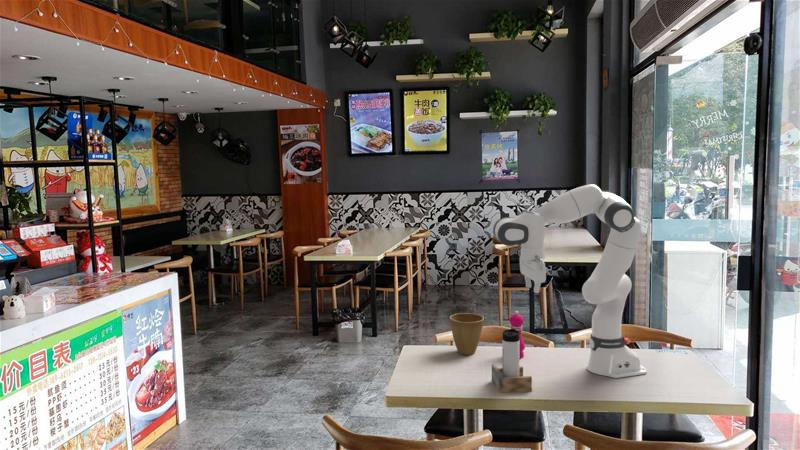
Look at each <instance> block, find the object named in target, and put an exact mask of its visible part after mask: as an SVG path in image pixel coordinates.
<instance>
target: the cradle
mask: <svg viewBox="0 0 800 450" xmlns="http://www.w3.org/2000/svg"><path fill="white" fill-rule="evenodd" d="M532 377H533V376H531V375H526V376H524V367H523V366H519V377H503V374H502V367H497V365H496V364H495V363H493V364H491V382H492V384H493V385H494V387H495V388H496V390H497V391H498V392H499V394H503V393H520V392H522V393H523V392H532V391H533V388H532V387H533V385H532V384H533V383H532V382H533V381H532V379H533V378H532Z"/></svg>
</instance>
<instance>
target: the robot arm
mask: <svg viewBox="0 0 800 450" xmlns="http://www.w3.org/2000/svg"><path fill="white" fill-rule="evenodd" d="M592 214H594V215H595V216H597V218H598V219H599V220H600V221H601V222H602V223H604V224H606V225H607V226H608V227H609V228H610V231H609V232H610V233H609V234H608V238H607V240H606V243H605V246H604V250H603V252H602V256H601V257H600V260H599V261H598V263H597V265H596V267H595V268H594V270H593V272H592V273H591V275H590V277H588V279H587V280H586V281H585V282H584V283H583V284H582V286H581V287H582V288H581V293H582V297H583V298H584V299H585V301H586V302H588V303H589V304H590V305H591V304H592V305H596V307H595V310H594V312H593V313H592V315H591V333H590V340H589V341H590V342H589V345H590V347H589V348H590V352H589V353H590V354H589V359H588V362H587V366H586V369H587V370H588V371H589V372H590V373H592V374H596V375H598V376H599V375H600V376H605V377H609V378H613V379H619V378H627V377H634V376H638V375H639V376H640V375H646V374H647V368H646V367H645V366H643V365H642V364H641V359H640V357H639V355H638V354H637V353H636V352H635V351H634V350H632V349H631V348H630V347H628V346H627V345H629V344H630V343H631V339H630V338H628V337H625V336H623V335H622V317H623V312H624V308H625V306H626V300H627V298H628V295H629V293H630V292H631V290H632V287H633V285H632V284H633V283H632V280H631V278H630V276H629V275H627V274H626V272H628V270H629V268H630V267H631V265H632V264H633V260H634V257H635V254H636V251H637V249H638V246H639V241H640V238H641V233H642V222H641V220H639V218H637V217H636V216H635V212H634V210H633V207H632V205H630V204H629V203H628V202H627V201H626V200H625V199H624V198H622V197H621V196H618V195H616V194H615V193H614V192H612V191H609V190H602V189H601V188H600V186H597V184H594V183H592V184H585V185H581V186H578V187H576V188H573V189H570V190H568V191H566V192H564V193H561V194H559V195H557V196H555V197H554V198H553V199H551V200H549V201H548V202H546V203H545V204H543V205H540V207H537V208H535V209H533V210H525V211H523V212H522V213H521V214H519V215H517V216H514V217H513V216H512V217H511V216H510V217H508V216H507V217H506V216H505V217H502V218H499V219H497V221H495V222H494V225H493V227H492V234H493V236H494V238H495V239H496V240H497V241H498V242H500V243H501V244H502V245H503V246H507V247H513V246H518V245H520V249H519V250H518V251H517V252H518V256H519V271H520V274H522V275H523V276H524V281H525V287H526V288H528V289H529V288H530V289H531V288H532V282H533V283H534V287H533V293H535V294H539V293H540V289H541V285H542V284H543V283H546V280H547V271H546V263H545V262H544V261H543V260H545V258H546V256H545V254H546V250H545V249H546V245H545V237H546V228H545V227H546V224H549V223H550V224H561V225H562V224H566V223H571V222H573V221H576V220H579V219H582V218H583V217H586V216H588V215H592ZM531 280H532V281H531Z"/></svg>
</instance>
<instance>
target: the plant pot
mask: <svg viewBox="0 0 800 450" xmlns="http://www.w3.org/2000/svg"><path fill="white" fill-rule="evenodd" d="M449 321H450V323H449V324H450V327H451V329H450V330H451V333H452V337H453V340H454V344H455V347H456V351H457V352H459V353H460V354H459V353H458V354H459V355H462V354H465V355H464V356H472V355H474V354H475V353H476V351H477V348H478V345H479V343H480V341H481V336H482V331H483V326H484V321H485V318H484V316H482V315H481V314H476V313H470V312H469V313H468V312H467V313H466V312H464V313H463V312H459V313H455V314H452V315H450V316H449ZM471 354H472V355H471Z"/></svg>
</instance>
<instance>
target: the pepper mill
mask: <svg viewBox="0 0 800 450" xmlns="http://www.w3.org/2000/svg"><path fill="white" fill-rule="evenodd" d="M509 323H510V329H515V330H517V331H519V340H520V341H519V342H520V344H519V359H522V358H524V357H525V352H524V351H525V349H526V344H525V341H524V339H523V335H522V331H523V324H524V316H522V315H521V314H519V311H518V310H515V311H514V314H512V315H511V316H510V317H509Z"/></svg>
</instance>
